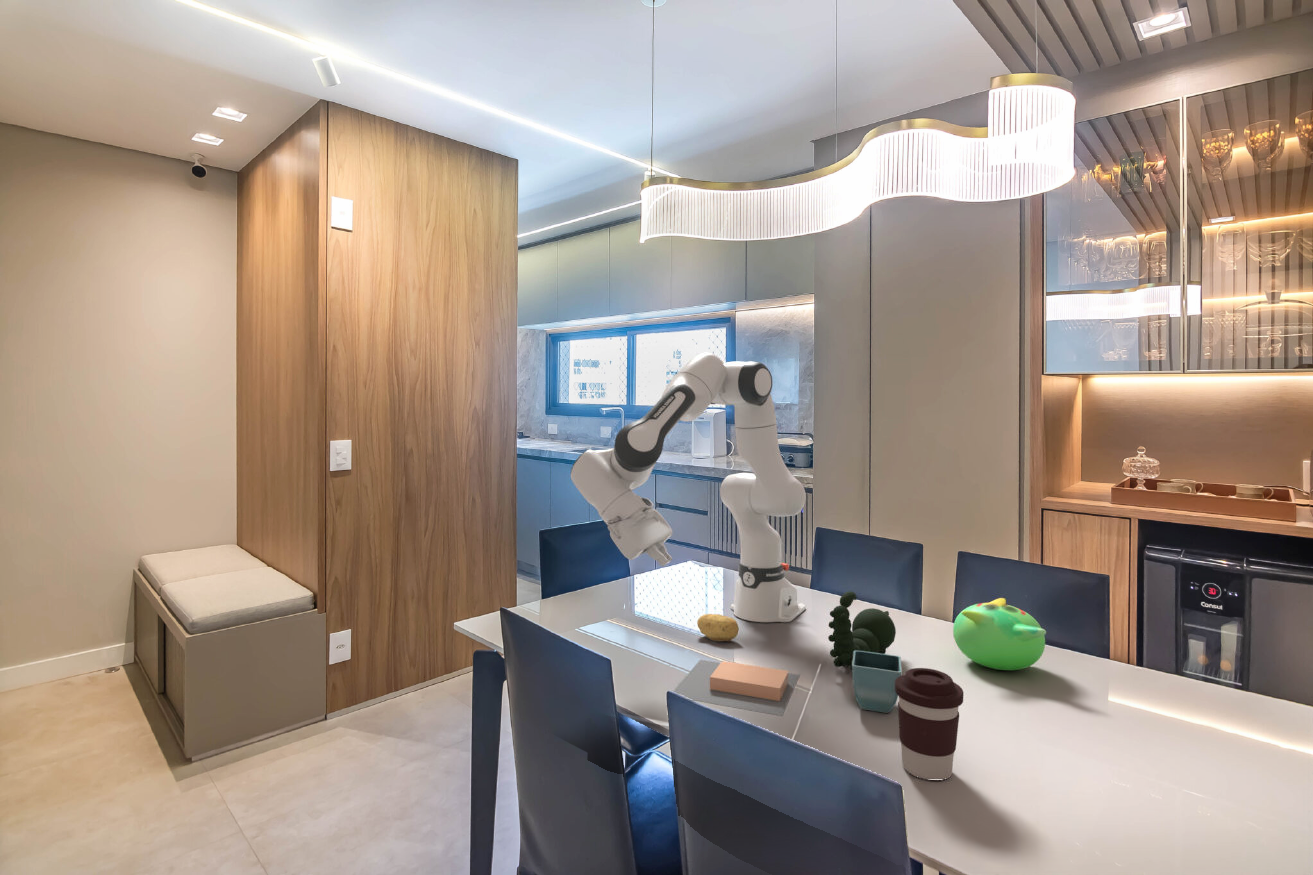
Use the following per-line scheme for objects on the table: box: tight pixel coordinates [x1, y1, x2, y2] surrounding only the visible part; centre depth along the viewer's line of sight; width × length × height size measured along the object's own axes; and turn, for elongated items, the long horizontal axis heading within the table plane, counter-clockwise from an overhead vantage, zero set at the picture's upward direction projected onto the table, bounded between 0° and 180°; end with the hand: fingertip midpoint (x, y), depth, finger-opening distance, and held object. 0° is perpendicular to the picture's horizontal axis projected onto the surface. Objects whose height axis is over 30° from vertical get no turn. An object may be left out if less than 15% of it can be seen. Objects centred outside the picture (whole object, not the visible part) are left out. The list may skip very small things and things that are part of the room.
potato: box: [696, 613, 740, 642], centre depth 160 cm, size 7×11×6 cm, turn 45°
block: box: [710, 660, 789, 701], centre depth 131 cm, size 3×9×14 cm
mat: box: [673, 659, 800, 717], centre depth 132 cm, size 22×20×1 cm
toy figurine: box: [827, 590, 897, 672], centre depth 146 cm, size 9×19×25 cm
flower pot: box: [851, 650, 903, 714], centre depth 124 cm, size 9×9×9 cm
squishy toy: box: [952, 597, 1047, 671], centre depth 144 cm, size 18×17×15 cm
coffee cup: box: [895, 667, 964, 780], centre depth 102 cm, size 10×10×15 cm
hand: (667, 563), depth 137 cm, fingers closed
